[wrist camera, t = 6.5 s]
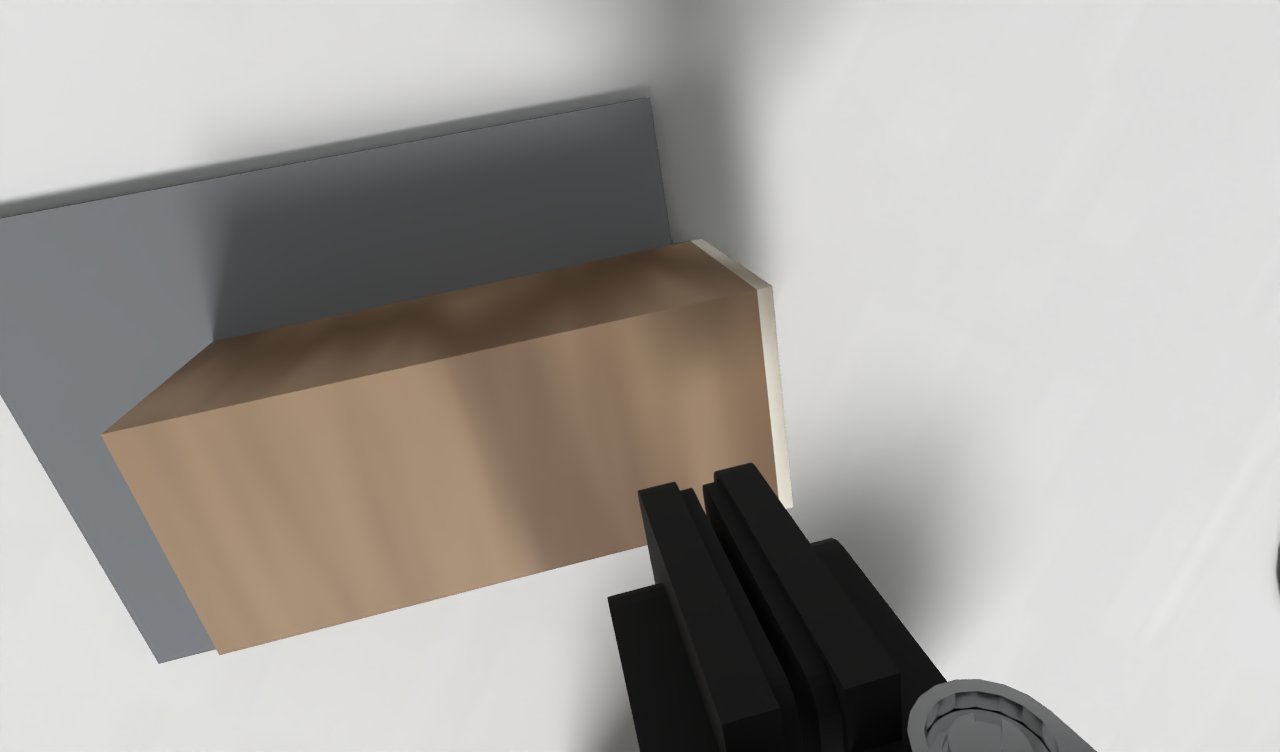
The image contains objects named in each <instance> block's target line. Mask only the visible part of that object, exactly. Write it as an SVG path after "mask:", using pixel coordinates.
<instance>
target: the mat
mask: <svg viewBox="0 0 1280 752" xmlns="http://www.w3.org/2000/svg"><path fill="white" fill-rule="evenodd" d="M668 245H672V243H671V236H670V229H669V223H668V216H667V210H666V203H665V196H664V190H663V183H662V176H661V170H660V163H659V157H658V150H657V143H656V137H655V130H654V123H653V117H652V110H651V103H650V98H642V99H637V100H631V101H626V102H621V103H615V104H610V105H604V106H599V107H594V108H588V109H583V110H578V111H572V112H567V113H562V114H556V115H551V116H545V117H540V118H535V119H529V120H524V121H519V122H513V123H508V124H503V125H497V126H492V127H486V128H481V129H476V130H470V131H465V132H460V133H454V134H449V135H444V136H438V137H433V138H427V139H422V140H417V141H411V142H406V143H401V144H395V145H390V146H385V147H379V148H374V149H368V150H363V151H358V152H352V153H347V154H342V155H336V156H331V157H326V158H320V159H315V160H309V161H304V162H299V163H293V164H288V165H283V166H277V167H272V168H267V169H261V170H256V171H250V172H245V173H240V174H234V175H229V176H224V177H218V178H213V179H208V180H202V181H197V182H192V183H186V184H181V185H175V186H170V187H165V188H159V189H154V190H149V191H143V192H138V193H133V194H127V195H122V196H116V197H111V198H106V199H100V200H95V201H90V202H84V203H79V204H74V205H68V206H63V207H57V208H52V209H47V210H41V211H36V212H31V213H25V214H20V215H15V216H9V217H4V218H0V395H1V397H2V398H3V400H4V402H5V403H6V405H7V407H8V409H9V410H10V412H11V414H12V415H13V417H14V419H15V420H16V422H17V424H18V425H19V427H20V429H21V431H22V432H23V434H24V436H25V437H26V439H27V441H28V442H29V444H30V446H31V448H32V449H33V451H34V453H35V454H36V456H37V458H38V459H39V461H40V463H41V464H42V466H43V468H44V470H45V471H46V473H47V475H48V476H49V478H50V480H51V481H52V483H53V485H54V487H55V488H56V490H57V492H58V493H59V495H60V497H61V498H62V500H63V502H64V504H65V505H66V507H67V509H68V510H69V512H70V514H71V515H72V517H73V519H74V520H75V522H76V524H77V526H78V527H79V529H80V531H81V532H82V534H83V536H84V537H85V539H86V541H87V543H88V544H89V546H90V548H91V549H92V551H93V553H94V554H95V556H96V558H97V560H98V561H99V563H100V565H101V566H102V568H103V570H104V571H105V573H106V575H107V576H108V578H109V580H110V582H111V583H112V585H113V587H114V588H115V590H116V592H117V593H118V595H119V597H120V599H121V600H122V602H123V604H124V605H125V607H126V609H127V610H128V612H129V614H130V616H131V617H132V619H133V621H134V622H135V624H136V626H137V627H138V629H139V631H140V632H141V634H142V636H143V638H144V639H145V641H146V643H147V644H148V646H149V648H150V649H151V651H152V653H153V655H154V656H155V658H156V660H157V661H158V663H159V664H160V663H164V662H168V661H171V660H175V659H179V658H183V657H187V656H191V655H195V654H199V653H203V652H207V651H210V650H214V649H216V648H215V646H214V644H213V642H212V640H211V638H210V636H209V635H208V633H207V631H206V629H205V627H204V625H203V623H202V622H201V620H200V618H199V616H198V614H197V612H196V610H195V609H194V607H193V605H192V603H191V601H190V599H189V598H188V596H187V594H186V592H185V590H184V588H183V586H182V585H181V583H180V581H179V579H178V577H177V575H176V573H175V572H174V570H173V568H172V566H171V564H170V562H169V560H168V559H167V557H166V555H165V553H164V551H163V549H162V547H161V546H160V544H159V542H158V540H157V538H156V536H155V535H154V533H153V531H152V529H151V527H150V525H149V523H148V522H147V520H146V518H145V516H144V514H143V512H142V510H141V509H140V507H139V505H138V503H137V501H136V499H135V497H134V496H133V494H132V492H131V490H130V488H129V486H128V485H127V483H126V481H125V479H124V477H123V475H122V473H121V472H120V470H119V468H118V466H117V464H116V462H115V460H114V459H113V457H112V455H111V453H110V451H109V449H108V447H107V446H106V444H105V442H104V440H103V438H102V436H101V434H102V433H103V432H104V431H105V430H107V429H108V428H109V427H110V426H112V425H113V424H114V423H115V422H116V421H118V420H119V419H120V418H121V417H122V416H124V415H125V414H126V413H127V412H128V411H130V410H131V409H132V408H133V407H134V406H136V405H137V404H138V403H139V402H140V401H142V400H143V399H144V398H145V397H146V396H148V395H149V394H150V393H151V392H153V391H154V390H155V389H156V388H157V387H159V386H160V385H161V384H162V383H163V382H165V381H166V380H167V379H168V378H169V377H171V376H172V375H173V374H174V373H175V372H177V371H178V370H179V369H180V368H181V367H183V366H184V365H185V364H186V363H187V362H189V361H190V360H191V359H192V358H194V357H195V356H196V355H197V354H198V353H200V352H201V351H202V350H203V349H204V348H206V347H207V346H208V345H209V344H210V343H212V342H213V341H217V340H222V339H227V338H232V337H236V336H241V335H246V334H251V333H255V332H260V331H265V330H270V329H274V328H279V327H284V326H289V325H293V324H298V323H303V322H308V321H312V320H317V319H322V318H327V317H331V316H336V315H341V314H346V313H350V312H355V311H360V310H365V309H369V308H374V307H379V306H384V305H388V304H393V303H398V302H402V301H407V300H412V299H417V298H421V297H426V296H431V295H436V294H440V293H445V292H450V291H455V290H459V289H464V288H469V287H474V286H478V285H483V284H488V283H493V282H497V281H502V280H507V279H512V278H516V277H521V276H526V275H531V274H535V273H540V272H545V271H550V270H554V269H559V268H564V267H569V266H573V265H578V264H583V263H588V262H592V261H597V260H602V259H607V258H611V257H616V256H621V255H626V254H630V253H635V252H640V251H644V250H649V249H654V248H659V247H663V246H668Z"/></svg>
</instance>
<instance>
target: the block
mask: <svg viewBox="0 0 1280 752" xmlns="http://www.w3.org/2000/svg"><path fill="white" fill-rule="evenodd" d="M101 436H102V438H103V440H104V442H105V444H106V446H107V447H108V449H109V451H110V453H111V455H112V457H113V459H114V460H115V462H116V464H117V466H118V468H119V470H120V472H121V473H122V475H123V477H124V479H125V481H126V483H127V485H128V486H129V488H130V490H131V492H132V494H133V496H134V497H135V499H136V501H137V503H138V505H139V507H140V509H141V510H142V512H143V514H144V516H145V518H146V520H147V522H148V523H149V525H150V527H151V529H152V531H153V533H154V535H155V536H156V538H157V540H158V542H159V544H160V546H161V547H162V549H163V551H164V553H165V555H166V557H167V559H168V560H169V562H170V564H171V566H172V568H173V570H174V572H175V573H176V575H177V577H178V579H179V581H180V583H181V585H182V586H183V588H184V590H185V592H186V594H187V596H188V598H189V599H190V601H191V603H192V605H193V607H194V609H195V610H196V612H197V614H198V616H199V618H200V620H201V622H202V623H203V625H204V627H205V629H206V631H207V633H208V635H209V636H210V638H211V640H212V642H213V644H214V646H215V648H216V649H217V651H218V653H219V655H222V654H226V653H230V652H233V651H237V650H241V649H245V648H249V647H253V646H257V645H261V644H265V643H268V642H272V641H276V640H280V639H284V638H288V637H292V636H296V635H299V634H303V633H307V632H311V631H315V630H319V629H323V628H327V627H331V626H334V625H338V624H342V623H346V622H350V621H354V620H358V619H362V618H365V617H369V616H373V615H377V614H381V613H385V612H389V611H393V610H396V609H400V608H404V607H408V606H412V605H416V604H420V603H424V602H428V601H431V600H435V599H439V598H443V597H447V596H451V595H455V594H459V593H462V592H466V591H470V590H474V589H478V588H482V587H486V586H490V585H494V584H497V583H501V582H505V581H509V580H513V579H517V578H521V577H525V576H528V575H532V574H536V573H540V572H544V571H548V570H552V569H556V568H560V567H563V566H567V565H571V564H575V563H579V562H583V561H587V560H591V559H594V558H598V557H602V556H606V555H610V554H614V553H618V552H622V551H626V550H629V549H633V548H637V547H641V546H645V545H648V544H647V539H646V534H645V529H644V524H643V519H642V514H641V509H640V504H639V498H638V490H642V489H646V488H650V487H654V486H658V485H662V484H666V483H670V482H676V484H677V485H678V488H679V490H684V489H688V488H693V490H694V492H695V494H696V496H697V498H698V500H699V502H700V504H701V506H702V508H703V510H704V512H705V514H706V511H705V504H704V498H703V485H704V484H708V483H712V482H714V472H715V471H718V470H722V469H726V468H730V467H734V466H738V465H742V464H746V463H753V464H754V465H755V466H756V467H757V469H758V470H759V471H760V473H761V474H762V476H763V477H764V479H765V480H766V481H767V483H768V484H769V486H770V487H771V489H772V490H773V491H774V493H775V494H776V496H777V497H778V499H779V500H780V501H781V503H782V504H783V506H784V507H785V509H789V508H792V507H793V500H792V490H791V479H790V469H789V458H788V448H787V437H786V427H785V416H784V406H783V395H782V385H781V374H780V364H779V353H778V343H777V332H776V322H775V311H774V301H773V290H772V286H771V285H770V284H768V283H767V282H765V281H764V280H762V279H761V278H759V277H758V276H756V275H755V274H753V273H752V272H750V271H749V270H747V269H746V268H744V267H743V266H741V265H740V264H739V263H737V262H736V261H734V260H733V259H731V258H730V257H728V256H727V255H725V254H724V253H722V252H721V251H719V250H718V249H716V248H715V247H713V246H712V245H711V244H709V243H708V242H706V241H705V240H703V239H702V238H701V239H697V240H692V241H687V242H682V243H678V244H673V245H668V246H663V247H659V248H654V249H649V250H644V251H640V252H635V253H630V254H626V255H621V256H616V257H611V258H607V259H602V260H597V261H592V262H588V263H583V264H578V265H573V266H569V267H564V268H559V269H554V270H550V271H545V272H540V273H535V274H531V275H526V276H521V277H516V278H512V279H507V280H502V281H497V282H493V283H488V284H483V285H478V286H474V287H469V288H464V289H459V290H455V291H450V292H445V293H440V294H436V295H431V296H426V297H421V298H417V299H412V300H407V301H402V302H398V303H393V304H388V305H384V306H379V307H374V308H369V309H365V310H360V311H355V312H350V313H346V314H341V315H336V316H331V317H327V318H322V319H317V320H312V321H308V322H303V323H298V324H293V325H289V326H284V327H279V328H274V329H270V330H265V331H260V332H255V333H251V334H246V335H241V336H236V337H232V338H227V339H222V340H217V341H213V342H212V343H210V344H209V345H208V346H207V347H206V348H204V349H203V350H202V351H201V352H200V353H198V354H197V355H196V356H195V357H194V358H192V359H191V360H190V361H189V362H187V363H186V364H185V365H184V366H183V367H181V368H180V369H179V370H178V371H177V372H175V373H174V374H173V375H172V376H171V377H169V378H168V379H167V380H166V381H165V382H163V383H162V384H161V385H160V386H159V387H157V388H156V389H155V390H154V391H153V392H151V393H150V394H149V395H148V396H146V397H145V398H144V399H143V400H142V401H140V402H139V403H138V404H137V405H136V406H134V407H133V408H132V409H131V410H130V411H128V412H127V413H126V414H125V415H124V416H122V417H121V418H120V419H119V420H118V421H116V422H115V423H114V424H113V425H112V426H110V427H109V428H108V429H107V430H105V431H104V432H103V433H102V434H101Z"/></svg>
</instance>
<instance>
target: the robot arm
mask: <svg viewBox="0 0 1280 752" xmlns="http://www.w3.org/2000/svg"><path fill="white" fill-rule="evenodd" d="M638 498H639V504H640V509H641V514H642V519H643V524H644V529H645V534H646V539H647V544H648V549H649V554H650V559H651V564H652V569H653V574H654V579H655V585H651V586H648V587H644V588H640V589H636V590H633V591H629V592H625V593H621V594H617V595H614V596H610V597H607V598H608V603H609V608H610V613H611V617H612V622H613V627H614V631H615V636H616V641H617V645H618V650H619V654H620V659H621V664H622V668H623V673H624V678H625V682H626V687H627V692H628V696H629V701H630V706H631V710H632V715H633V720H634V724H635V729H636V734H637V738H638V743H639V748H640V752H1097V751H1096V750H1094V749H1093V748H1092V747H1091V746H1090V745H1089V744H1088V743H1087V742H1085V741H1084V740H1083V739H1082V738H1081V737H1080V736H1079V735H1077V734H1076V733H1075V732H1074V731H1073V730H1072V729H1071V728H1070V727H1068V726H1067V725H1066V724H1065V723H1064V722H1063V721H1062V720H1061V719H1059V718H1058V717H1057V716H1056V715H1055V714H1054V713H1053V712H1051V711H1050V710H1049V709H1047V708H1046V707H1045V706H1043V705H1042V704H1040V703H1039V702H1038V701H1036V700H1035V699H1033V698H1032V697H1030V696H1029V695H1027V694H1025V693H1022V692H1020V691H1018V690H1016V689H1013V688H1011V687H1009V686H1006V685H1004V684H999V683H995V682H990V681H985V680H980V679H962V680H953V681H949V682H947V681H946V679H945V678H944V677H943V676H942V674H941V673H940V672H939V670H938V669H937V668H936V666H935V665H934V664H933V663H932V661H931V660H930V659H929V657H928V656H927V655H926V653H925V652H924V651H923V650H922V648H921V647H920V646H919V644H918V643H917V642H916V641H915V639H914V638H913V637H912V635H911V634H910V633H909V631H908V630H907V629H906V628H905V626H904V625H903V624H902V622H901V621H900V620H899V618H898V617H897V616H896V615H895V613H894V612H893V611H892V609H891V608H890V607H889V605H888V604H887V603H886V602H885V600H884V599H883V598H882V596H881V595H880V594H879V592H878V591H877V590H876V589H875V587H874V586H873V585H872V583H871V582H870V581H869V580H868V578H867V577H866V576H865V574H864V573H863V572H862V570H861V569H860V568H859V567H858V565H857V564H856V563H855V561H854V560H853V559H852V557H851V556H850V555H849V554H848V552H847V551H846V550H845V548H844V547H843V546H842V545H841V544H840V543H839V542H838V541H837V540H835V539H833V538H829V539H826V540H822V541H818V542H814V543H809V541H808V540H807V539H806V537H805V536H804V534H803V533H802V531H801V530H800V529H799V527H798V526H797V524H796V523H795V521H794V520H793V519H792V517H791V516H790V514H789V513H788V511H787V510H786V509H785V507H784V506H783V504H782V503H781V501H780V500H779V499H778V497H777V496H776V494H775V493H774V491H773V490H772V489H771V487H770V486H769V484H768V483H767V481H766V480H765V479H764V477H763V476H762V474H761V473H760V471H759V470H758V469H757V467H756V466H755V465H754V464H753V463H746V464H742V465H738V466H734V467H730V468H726V469H722V470H718V471H715V472H714V482H712V483H708V484H704V485H703V498H704V504H705V511H706V514H705V512H704V510H703V508H702V506H701V504H700V502H699V500H698V498H697V496H696V494H695V492H694V490H693V488H688V489H684V490H679V488H678V485H677V484H676V482H670V483H666V484H662V485H658V486H654V487H650V488H646V489H642V490H638Z"/></svg>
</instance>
